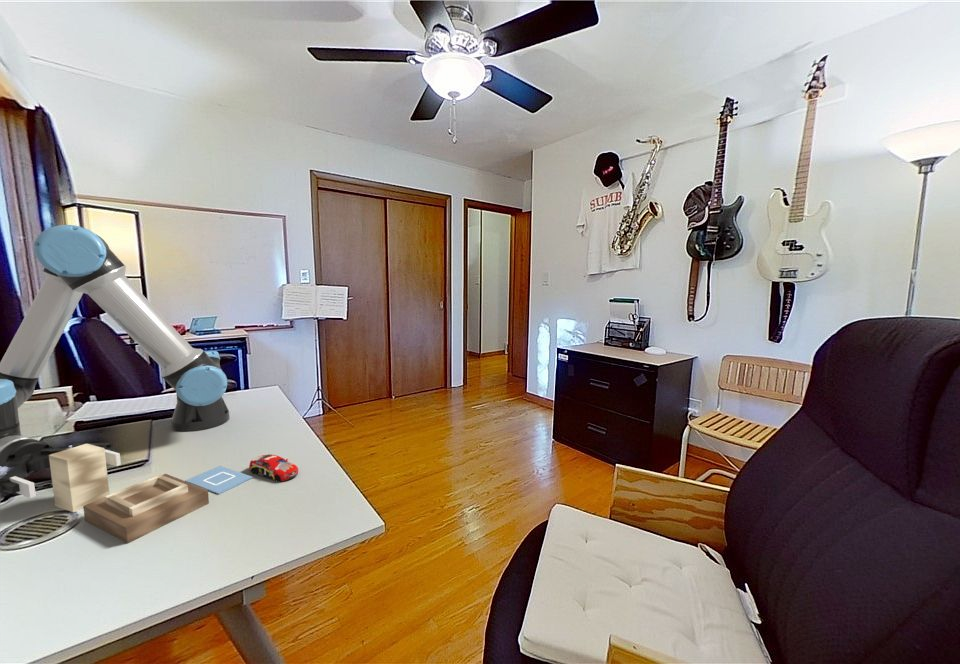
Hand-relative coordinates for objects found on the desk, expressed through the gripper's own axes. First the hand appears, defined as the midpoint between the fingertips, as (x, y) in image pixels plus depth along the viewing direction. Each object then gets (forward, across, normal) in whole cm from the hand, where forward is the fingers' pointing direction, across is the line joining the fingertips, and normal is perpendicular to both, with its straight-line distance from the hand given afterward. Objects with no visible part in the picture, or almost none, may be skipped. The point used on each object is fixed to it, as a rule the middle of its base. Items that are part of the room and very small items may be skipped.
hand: (78, 473), depth 80 cm
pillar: (-1, 0, -6) cm, 7 cm away
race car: (+25, -24, -7) cm, 36 cm away
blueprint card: (+17, -17, -6) cm, 25 cm away
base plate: (+16, -3, -6) cm, 17 cm away
